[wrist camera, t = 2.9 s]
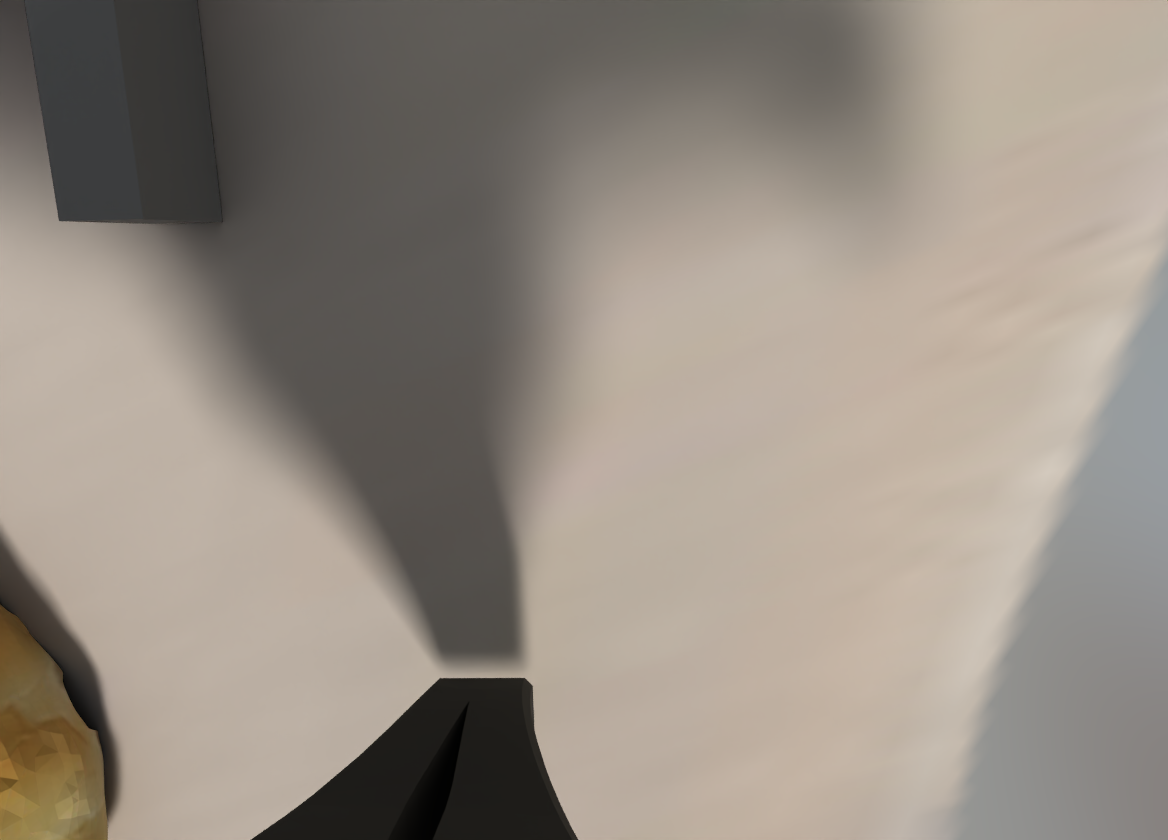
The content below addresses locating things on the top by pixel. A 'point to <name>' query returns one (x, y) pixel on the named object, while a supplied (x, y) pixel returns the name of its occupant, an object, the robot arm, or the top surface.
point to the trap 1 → (125, 110)
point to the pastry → (44, 748)
